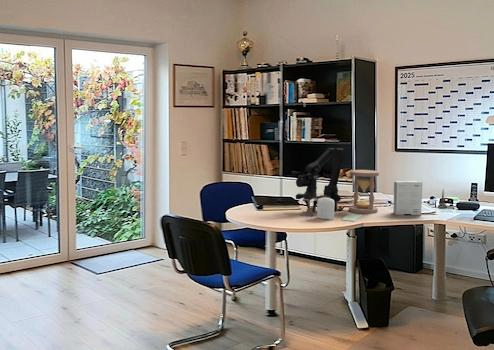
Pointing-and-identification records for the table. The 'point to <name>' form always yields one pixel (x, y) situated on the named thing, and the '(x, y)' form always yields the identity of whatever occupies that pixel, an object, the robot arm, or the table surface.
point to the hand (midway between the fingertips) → (311, 211)
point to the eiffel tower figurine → (443, 202)
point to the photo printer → (325, 208)
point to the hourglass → (364, 183)
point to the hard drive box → (407, 197)
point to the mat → (351, 217)
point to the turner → (308, 212)
